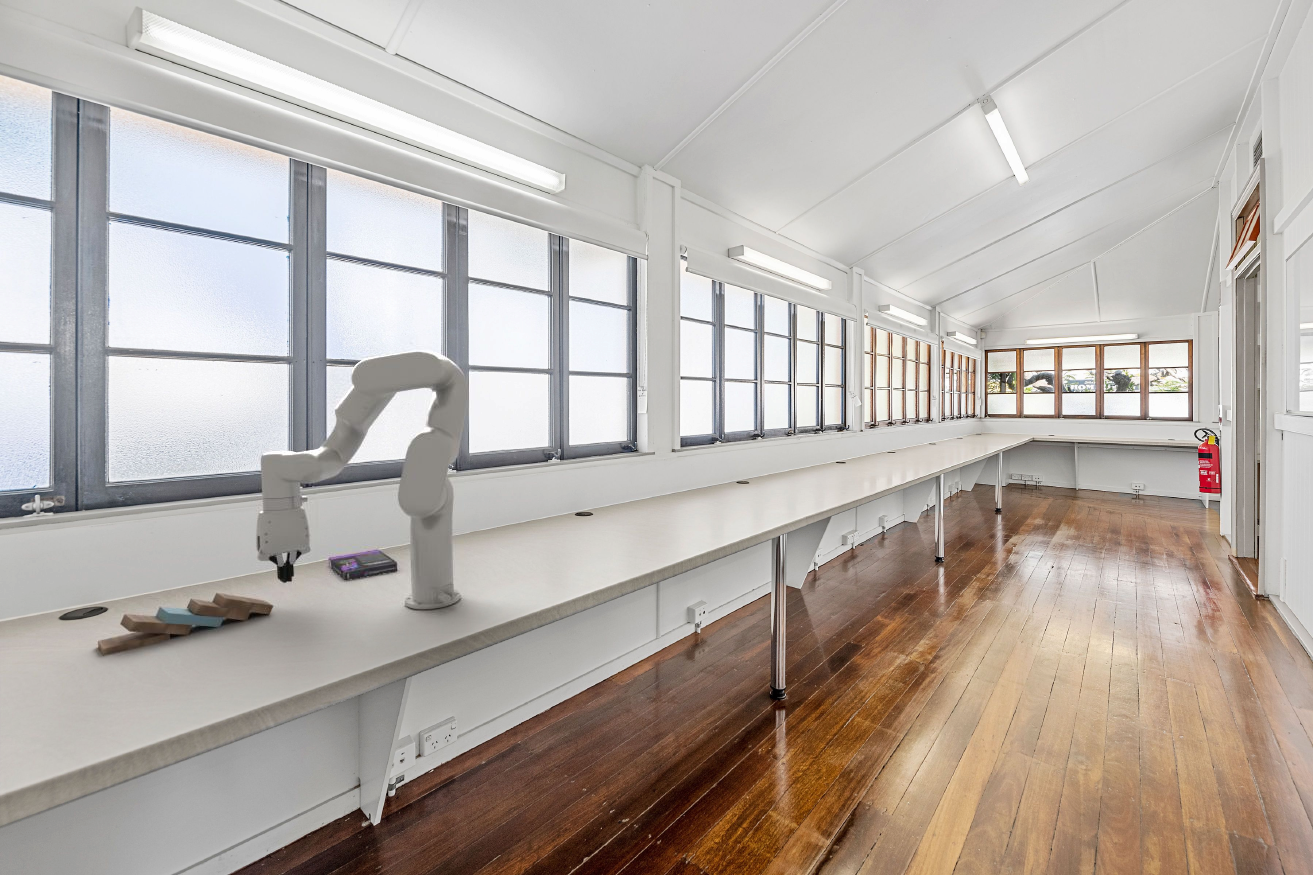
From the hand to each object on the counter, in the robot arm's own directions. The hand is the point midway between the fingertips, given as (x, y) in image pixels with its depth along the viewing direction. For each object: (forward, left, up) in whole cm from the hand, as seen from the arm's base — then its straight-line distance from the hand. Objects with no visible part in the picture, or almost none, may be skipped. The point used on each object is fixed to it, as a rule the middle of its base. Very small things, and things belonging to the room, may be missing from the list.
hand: (286, 580), depth 138 cm
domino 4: (0, +9, -6) cm, 10 cm away
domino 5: (+1, +4, -5) cm, 7 cm away
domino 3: (0, +14, -5) cm, 15 cm away
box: (+21, -25, -7) cm, 33 cm away
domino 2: (0, +19, -5) cm, 20 cm away
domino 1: (0, +22, -6) cm, 23 cm away
